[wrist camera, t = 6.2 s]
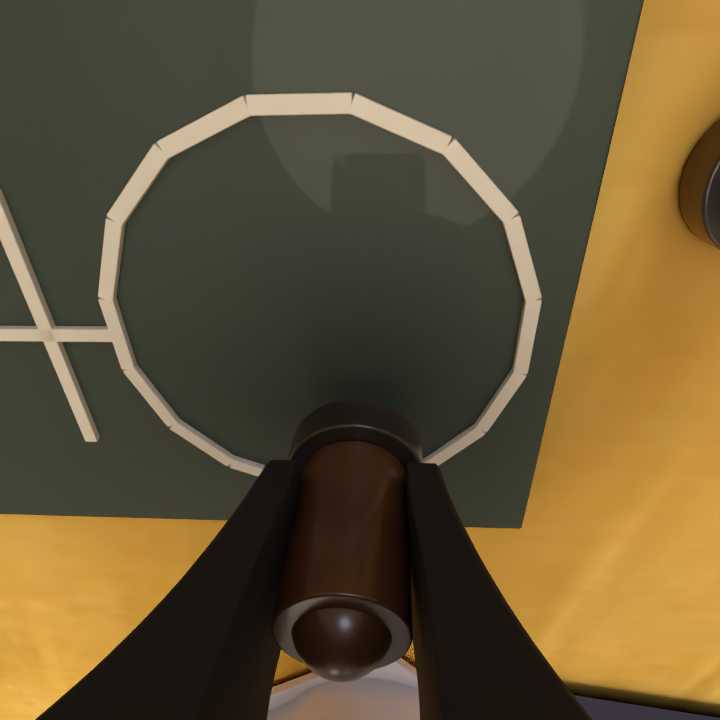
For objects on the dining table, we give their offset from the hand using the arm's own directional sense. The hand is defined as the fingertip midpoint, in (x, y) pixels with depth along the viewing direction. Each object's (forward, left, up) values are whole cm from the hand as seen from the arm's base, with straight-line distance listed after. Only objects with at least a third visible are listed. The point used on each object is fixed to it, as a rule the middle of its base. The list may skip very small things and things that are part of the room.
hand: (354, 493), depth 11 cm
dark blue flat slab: (-7, -34, -4) cm, 35 cm away
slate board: (-2, +5, -4) cm, 7 cm away
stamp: (0, 0, -1) cm, 1 cm away
